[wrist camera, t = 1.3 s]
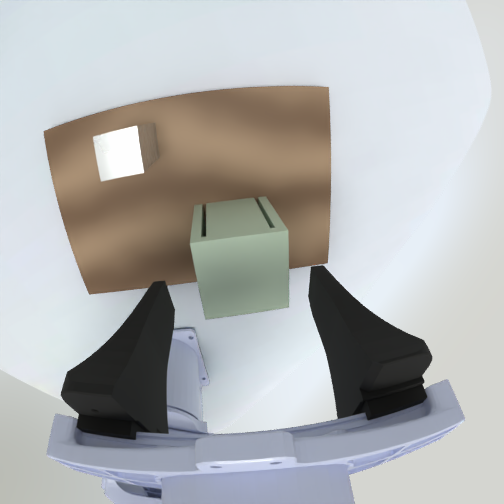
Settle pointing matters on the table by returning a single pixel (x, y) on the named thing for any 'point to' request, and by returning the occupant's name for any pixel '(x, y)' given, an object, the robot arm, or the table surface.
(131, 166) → the post
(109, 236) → the board
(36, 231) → the table surface
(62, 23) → the table surface
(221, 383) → the table surface
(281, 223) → the green slotted cube
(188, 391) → the robot arm
